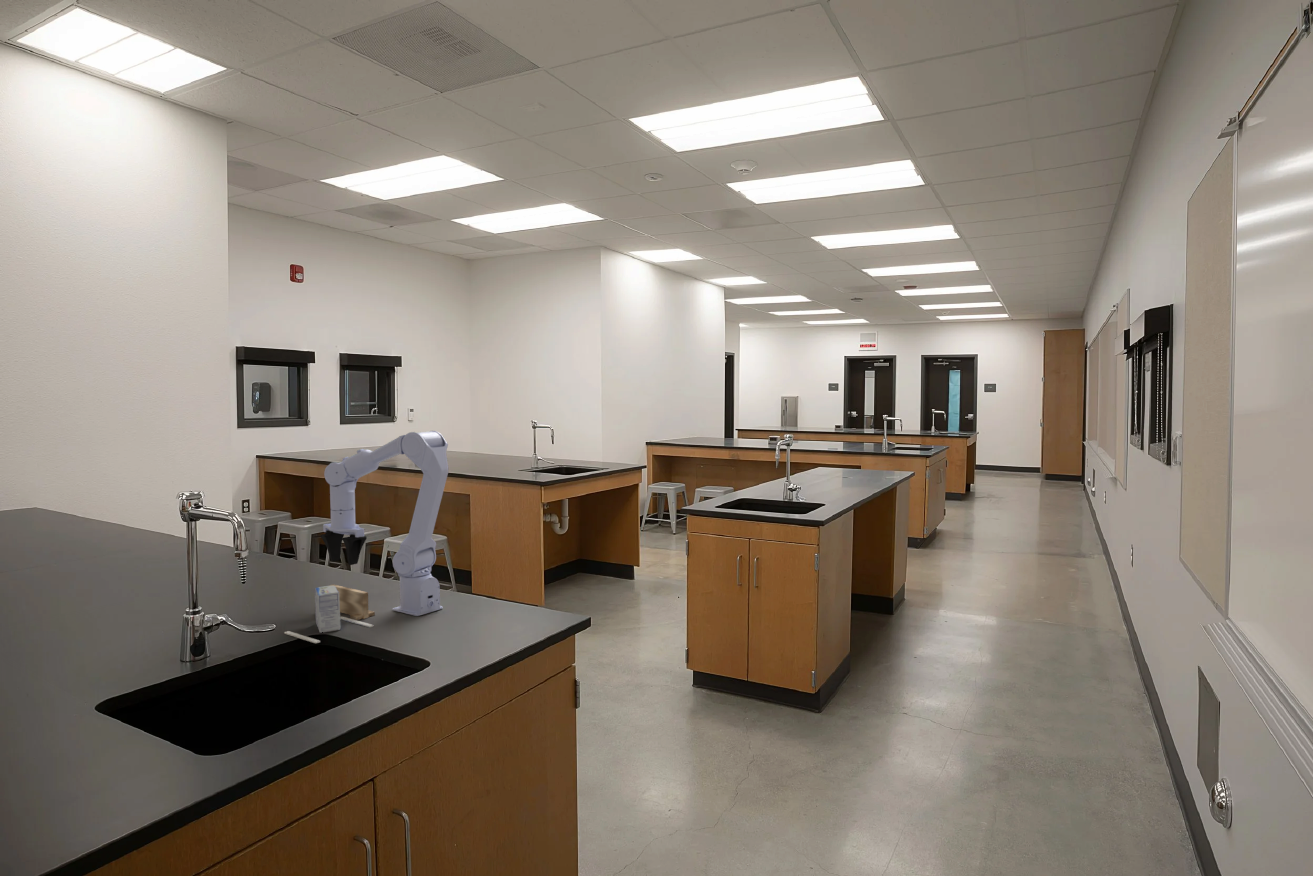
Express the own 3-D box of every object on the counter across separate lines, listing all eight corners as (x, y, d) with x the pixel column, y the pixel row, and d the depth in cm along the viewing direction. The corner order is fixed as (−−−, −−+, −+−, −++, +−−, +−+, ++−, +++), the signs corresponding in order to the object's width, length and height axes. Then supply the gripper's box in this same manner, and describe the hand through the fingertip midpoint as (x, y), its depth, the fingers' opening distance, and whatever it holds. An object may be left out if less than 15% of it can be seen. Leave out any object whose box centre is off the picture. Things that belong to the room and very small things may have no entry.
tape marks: (373, 626, 165) (373, 625, 165) (315, 643, 153) (315, 642, 153) (342, 617, 171) (342, 616, 171) (284, 633, 160) (284, 632, 160)
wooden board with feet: (375, 615, 173) (375, 590, 173) (356, 620, 169) (356, 595, 169) (340, 606, 181) (340, 582, 181) (322, 611, 177) (321, 587, 176)
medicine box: (340, 630, 162) (339, 592, 162) (318, 633, 160) (318, 595, 159) (336, 621, 169) (335, 584, 168) (315, 624, 166) (314, 587, 166)
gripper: (374, 509, 182) (375, 562, 183) (340, 505, 190) (341, 556, 191) (349, 513, 176) (350, 568, 177) (315, 508, 184) (316, 561, 185)
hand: (344, 562), depth 183 cm, fingers open, 7 cm apart
